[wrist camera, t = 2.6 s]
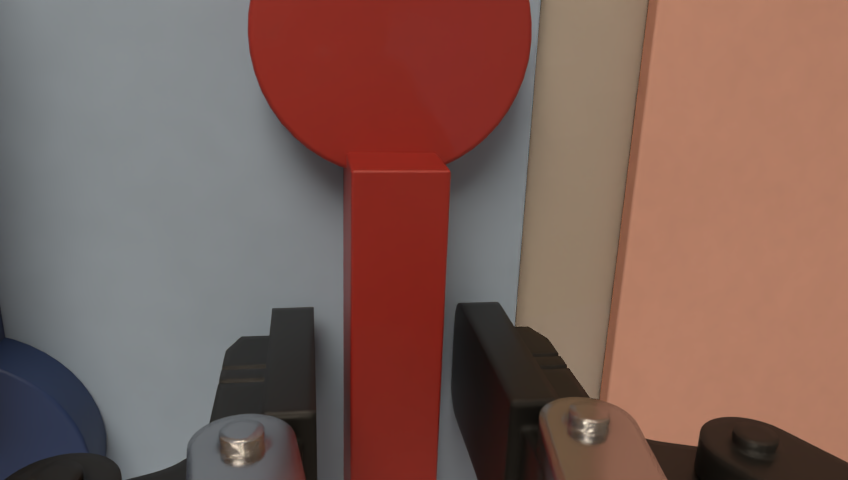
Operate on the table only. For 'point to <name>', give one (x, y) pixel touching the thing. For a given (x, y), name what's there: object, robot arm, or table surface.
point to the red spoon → (391, 181)
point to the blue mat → (198, 218)
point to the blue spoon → (42, 409)
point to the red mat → (736, 223)
